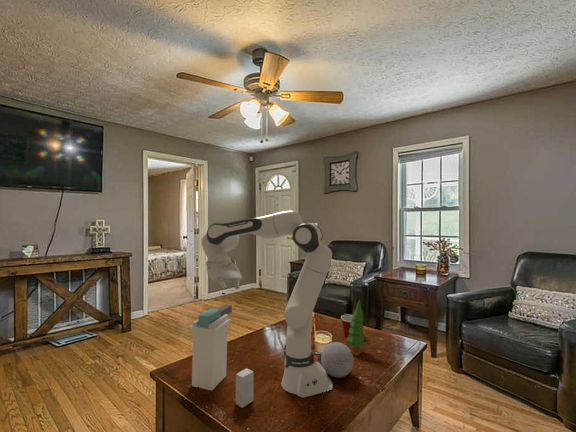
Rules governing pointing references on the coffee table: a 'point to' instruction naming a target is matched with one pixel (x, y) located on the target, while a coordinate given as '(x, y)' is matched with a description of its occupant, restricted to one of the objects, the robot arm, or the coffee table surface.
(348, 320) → the plastic cup
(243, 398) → the skincare box
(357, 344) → the decorative tree
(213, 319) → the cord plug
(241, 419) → the coffee table surface
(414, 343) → the coffee table surface
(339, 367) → the decorative ball
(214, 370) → the cable duct stand
